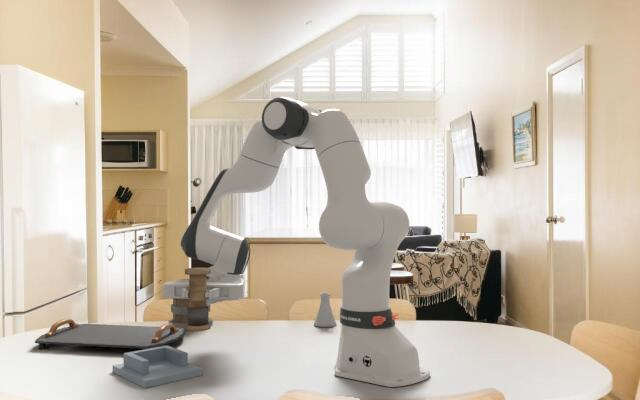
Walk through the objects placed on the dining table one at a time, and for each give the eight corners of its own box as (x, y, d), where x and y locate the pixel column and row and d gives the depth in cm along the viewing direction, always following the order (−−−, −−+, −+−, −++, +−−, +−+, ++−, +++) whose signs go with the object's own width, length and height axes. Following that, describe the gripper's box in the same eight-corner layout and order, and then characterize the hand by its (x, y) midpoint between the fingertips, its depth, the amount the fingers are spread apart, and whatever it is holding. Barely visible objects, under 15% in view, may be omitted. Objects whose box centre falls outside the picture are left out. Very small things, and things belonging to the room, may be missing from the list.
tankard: (198, 330, 184) (198, 280, 184) (161, 328, 188) (161, 279, 188) (228, 318, 203) (228, 273, 203) (194, 316, 207) (194, 271, 207)
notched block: (202, 375, 138) (202, 355, 138) (144, 388, 129) (144, 366, 129) (167, 361, 150) (167, 342, 150) (112, 371, 141) (112, 352, 141)
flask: (337, 323, 195) (337, 291, 195) (335, 328, 188) (335, 295, 188) (314, 322, 196) (314, 291, 196) (312, 327, 189) (312, 295, 189)
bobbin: (215, 328, 145) (215, 269, 145) (193, 332, 141) (193, 271, 141) (202, 324, 149) (202, 266, 149) (180, 328, 145) (180, 268, 145)
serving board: (195, 338, 176) (195, 316, 176) (159, 359, 154) (159, 334, 154) (73, 332, 184) (73, 311, 184) (22, 351, 161) (22, 328, 161)
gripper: (170, 273, 158) (153, 281, 145) (249, 274, 157) (239, 282, 143) (170, 297, 158) (153, 307, 145) (249, 298, 157) (239, 309, 143)
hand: (196, 295), depth 144 cm, fingers closed on bobbin, 4 cm apart
